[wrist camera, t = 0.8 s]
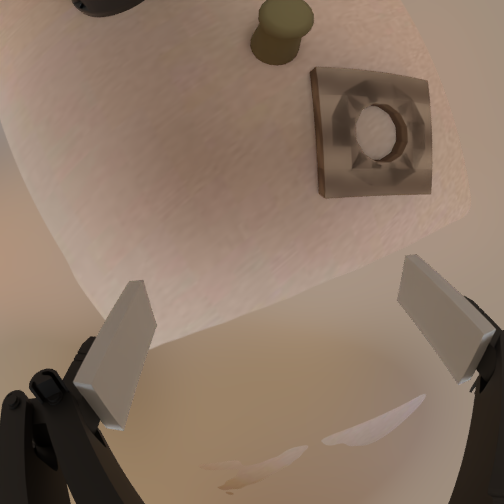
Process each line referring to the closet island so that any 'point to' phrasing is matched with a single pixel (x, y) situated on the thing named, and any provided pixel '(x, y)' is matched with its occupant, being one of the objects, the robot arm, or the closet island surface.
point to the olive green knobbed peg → (281, 30)
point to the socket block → (344, 133)
